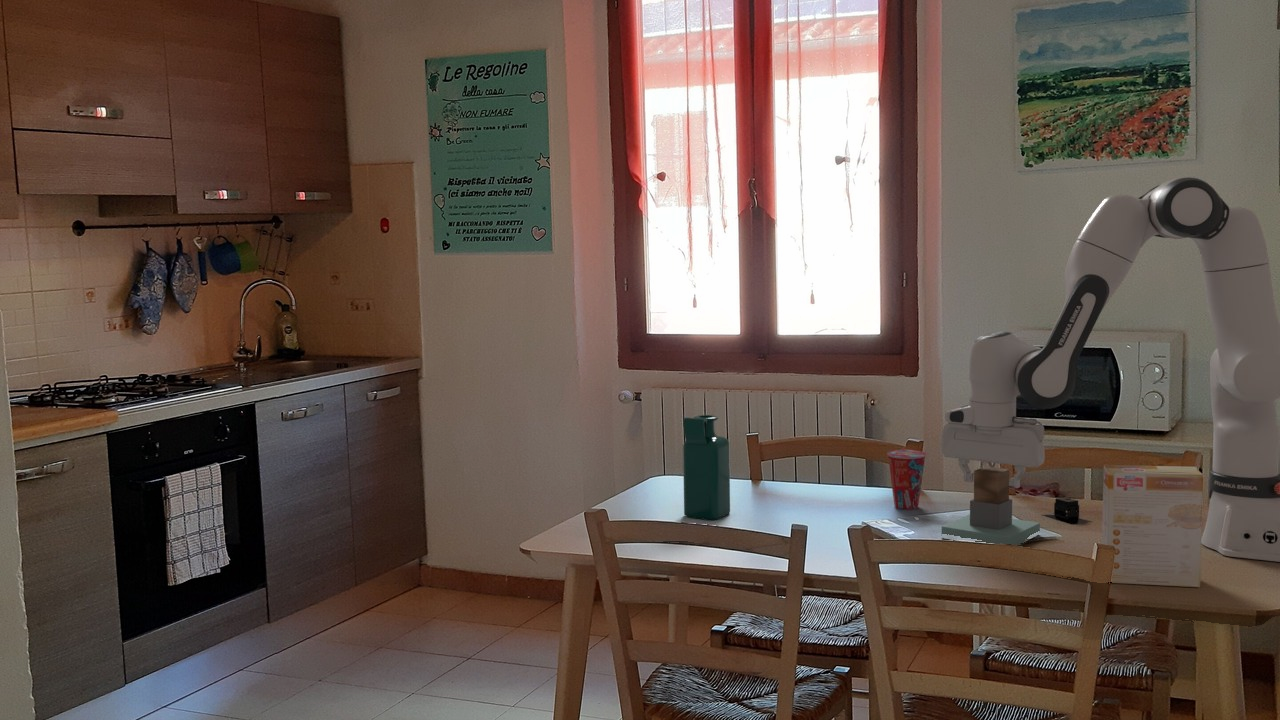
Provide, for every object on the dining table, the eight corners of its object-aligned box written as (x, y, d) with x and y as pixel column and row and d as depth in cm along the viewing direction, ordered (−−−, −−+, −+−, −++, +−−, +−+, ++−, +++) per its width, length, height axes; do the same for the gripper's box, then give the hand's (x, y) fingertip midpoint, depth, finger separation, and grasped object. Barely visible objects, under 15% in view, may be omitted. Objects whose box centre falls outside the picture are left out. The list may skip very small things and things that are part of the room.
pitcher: (699, 508, 258) (697, 411, 256) (733, 512, 254) (732, 413, 251) (677, 518, 250) (676, 417, 247) (712, 522, 245) (711, 420, 243)
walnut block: (1009, 499, 229) (1009, 469, 228) (998, 504, 225) (998, 473, 224) (985, 495, 232) (985, 466, 231) (973, 500, 228) (974, 470, 228)
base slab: (1039, 535, 230) (1039, 522, 230) (1009, 550, 220) (1009, 537, 219) (973, 524, 239) (973, 512, 239) (941, 538, 229) (941, 526, 229)
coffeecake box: (1192, 576, 201) (1195, 465, 199) (1201, 588, 194) (1204, 474, 192) (1100, 571, 205) (1102, 463, 203) (1105, 583, 198) (1108, 471, 196)
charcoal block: (1011, 523, 229) (1012, 499, 229) (998, 530, 225) (999, 504, 224) (983, 519, 233) (983, 495, 233) (969, 525, 229) (970, 500, 228)
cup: (934, 508, 254) (934, 454, 252) (901, 513, 250) (901, 458, 249) (909, 500, 262) (909, 447, 261) (877, 504, 259) (877, 451, 258)
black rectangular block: (1101, 525, 239) (1101, 503, 238) (1073, 529, 236) (1073, 507, 236) (1059, 512, 250) (1059, 491, 250) (1031, 516, 248) (1032, 495, 247)
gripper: (1050, 417, 222) (1049, 488, 224) (952, 408, 236) (951, 475, 237) (1037, 421, 218) (1036, 494, 219) (937, 412, 231) (937, 480, 233)
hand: (991, 484), depth 228 cm, fingers open, 8 cm apart
